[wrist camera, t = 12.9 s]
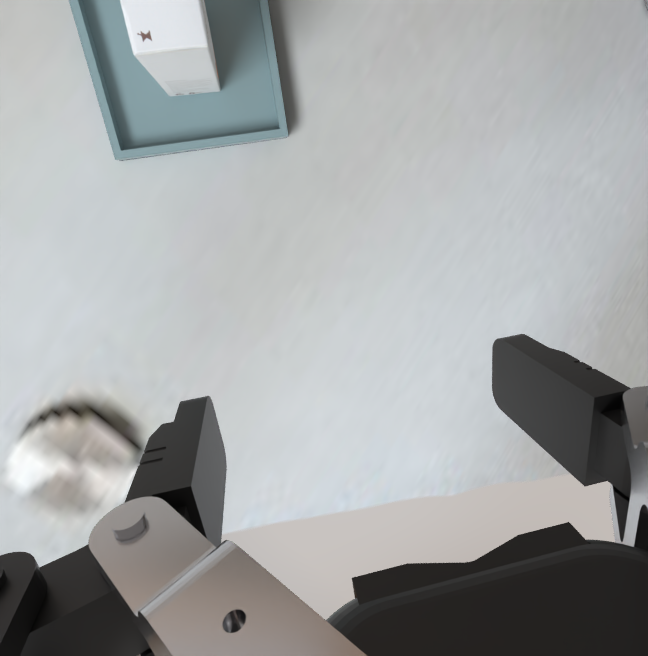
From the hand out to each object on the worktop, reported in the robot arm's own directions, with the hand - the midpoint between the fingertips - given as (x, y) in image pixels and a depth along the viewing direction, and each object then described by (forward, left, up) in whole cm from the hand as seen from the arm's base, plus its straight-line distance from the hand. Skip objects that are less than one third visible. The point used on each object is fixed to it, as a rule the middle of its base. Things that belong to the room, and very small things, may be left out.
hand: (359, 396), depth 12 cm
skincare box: (+5, -16, -30) cm, 34 cm away
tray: (+5, -16, -30) cm, 34 cm away
